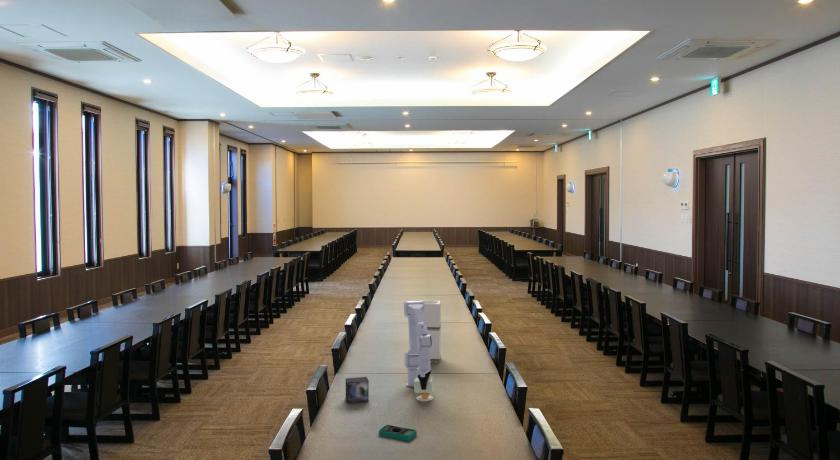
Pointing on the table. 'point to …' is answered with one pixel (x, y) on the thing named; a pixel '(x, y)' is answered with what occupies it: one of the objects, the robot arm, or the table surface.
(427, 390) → the pale green block
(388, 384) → the table surface
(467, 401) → the table surface
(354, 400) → the small box
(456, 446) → the table surface
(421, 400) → the white round disc
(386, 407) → the table surface
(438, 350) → the white rectangular tower
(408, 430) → the digital multimeter
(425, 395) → the ball
